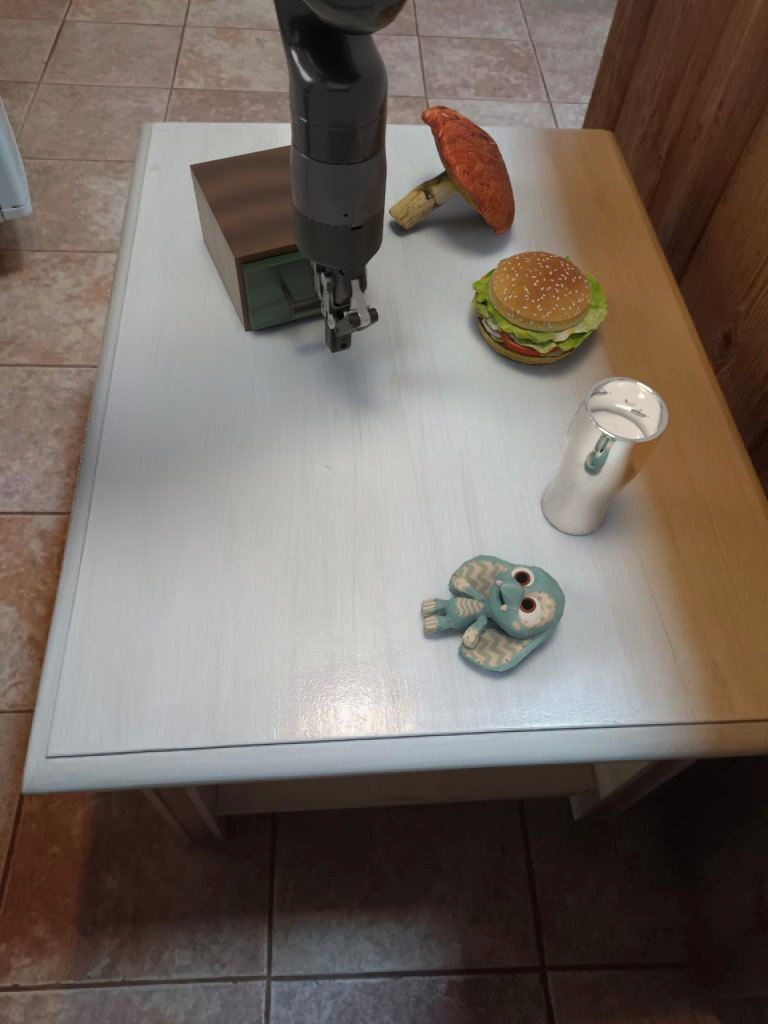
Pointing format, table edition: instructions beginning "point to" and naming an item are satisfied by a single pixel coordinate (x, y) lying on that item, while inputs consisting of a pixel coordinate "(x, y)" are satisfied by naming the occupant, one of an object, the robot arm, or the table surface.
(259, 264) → the drawer
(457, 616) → the stuffed animal
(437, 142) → the mushroom
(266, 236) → the cabinet
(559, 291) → the food
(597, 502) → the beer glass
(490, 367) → the table surface
